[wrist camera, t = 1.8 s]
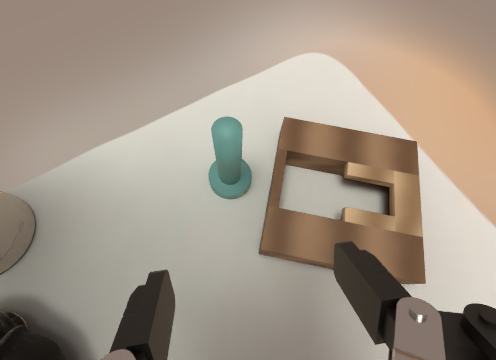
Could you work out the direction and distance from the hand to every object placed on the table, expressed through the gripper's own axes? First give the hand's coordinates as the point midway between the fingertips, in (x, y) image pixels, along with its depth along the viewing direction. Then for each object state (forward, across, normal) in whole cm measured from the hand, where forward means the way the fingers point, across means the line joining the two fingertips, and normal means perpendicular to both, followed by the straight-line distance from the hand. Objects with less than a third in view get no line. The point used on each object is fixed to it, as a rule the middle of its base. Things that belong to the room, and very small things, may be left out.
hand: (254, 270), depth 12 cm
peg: (+20, 0, +3) cm, 20 cm away
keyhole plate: (+17, -12, +7) cm, 22 cm away
